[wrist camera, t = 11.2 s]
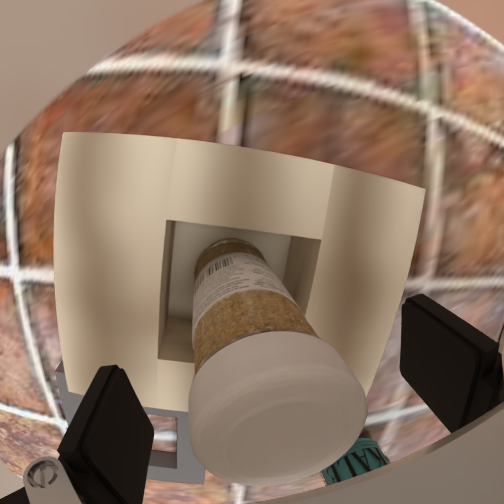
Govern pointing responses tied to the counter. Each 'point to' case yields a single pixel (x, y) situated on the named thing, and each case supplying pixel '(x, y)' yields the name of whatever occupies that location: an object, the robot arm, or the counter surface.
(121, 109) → the counter surface
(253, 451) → the sprinkles bottle
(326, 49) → the counter surface
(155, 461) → the charcoal collar
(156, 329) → the birch dock block
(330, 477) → the beverage bottle
